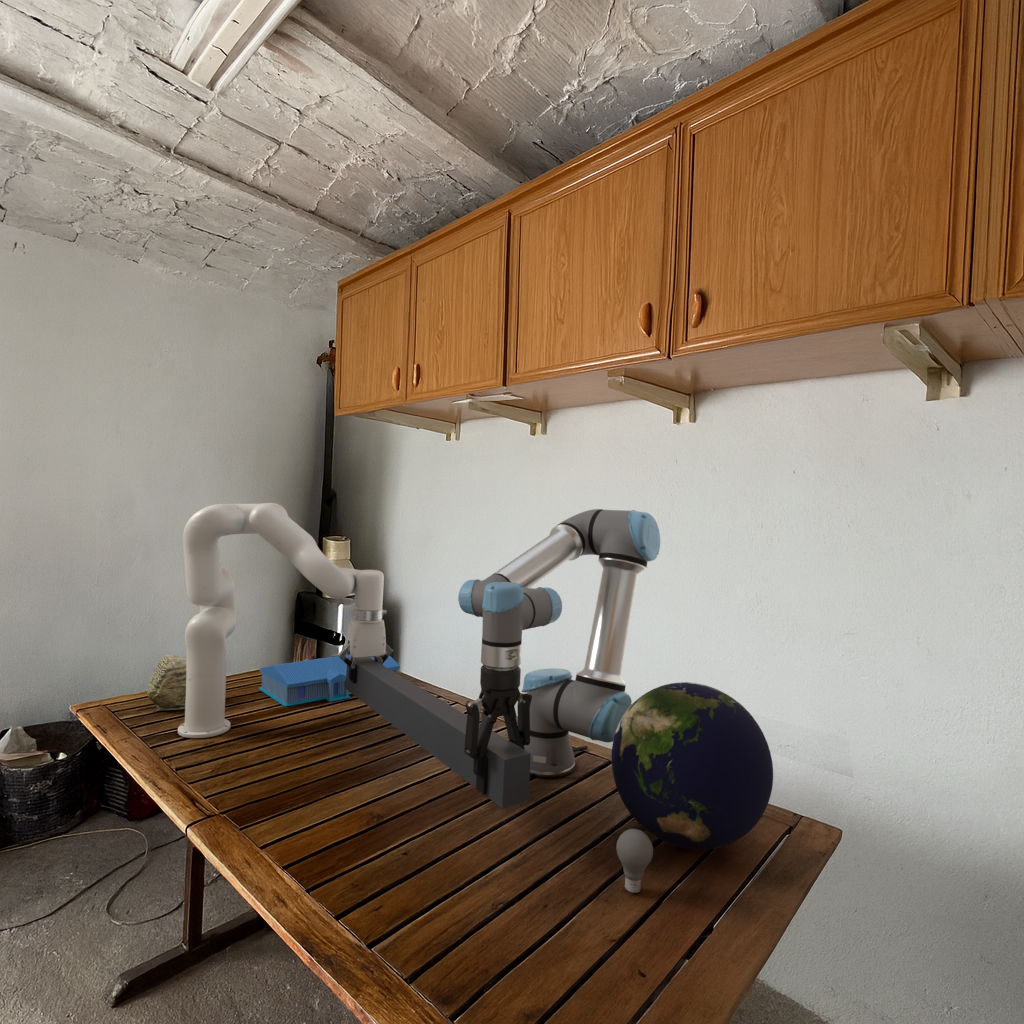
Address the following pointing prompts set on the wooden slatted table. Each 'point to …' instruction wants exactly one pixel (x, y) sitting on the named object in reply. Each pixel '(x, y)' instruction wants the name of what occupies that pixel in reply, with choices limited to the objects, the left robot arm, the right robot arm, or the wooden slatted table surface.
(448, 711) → the beam
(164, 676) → the fossil
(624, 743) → the globe
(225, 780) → the wooden slatted table surface
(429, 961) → the wooden slatted table surface
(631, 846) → the light bulb
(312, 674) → the model building
